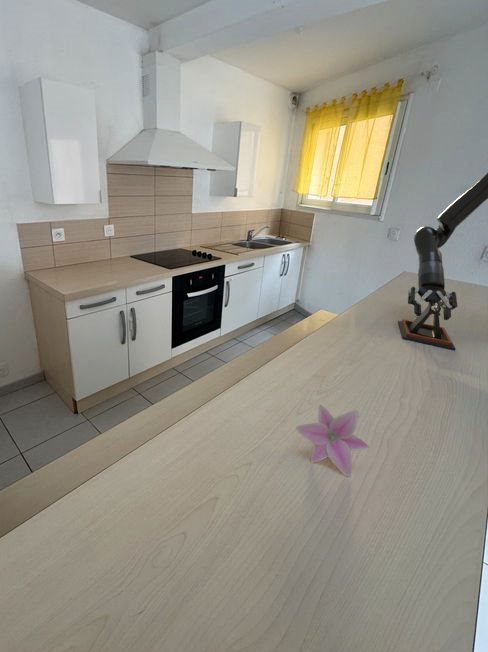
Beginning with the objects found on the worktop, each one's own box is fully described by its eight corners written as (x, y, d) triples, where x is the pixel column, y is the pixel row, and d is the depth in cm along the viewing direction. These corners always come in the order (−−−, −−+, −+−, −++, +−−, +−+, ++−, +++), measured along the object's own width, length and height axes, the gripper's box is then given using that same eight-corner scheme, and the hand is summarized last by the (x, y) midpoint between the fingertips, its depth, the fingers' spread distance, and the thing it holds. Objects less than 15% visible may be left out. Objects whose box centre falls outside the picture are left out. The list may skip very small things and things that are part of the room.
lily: (283, 443, 67) (293, 429, 60) (316, 405, 72) (329, 388, 64) (333, 491, 62) (351, 483, 54) (366, 447, 66) (387, 434, 59)
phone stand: (409, 332, 115) (420, 301, 110) (409, 326, 119) (420, 296, 115) (440, 340, 110) (453, 308, 106) (438, 333, 115) (451, 302, 110)
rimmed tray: (444, 332, 118) (446, 327, 118) (454, 350, 106) (457, 345, 105) (397, 322, 124) (399, 317, 123) (402, 338, 112) (404, 333, 111)
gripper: (413, 268, 115) (414, 310, 110) (459, 273, 112) (463, 316, 106) (404, 278, 122) (404, 317, 116) (447, 283, 119) (450, 324, 113)
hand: (432, 317), depth 111 cm, fingers open, 8 cm apart
